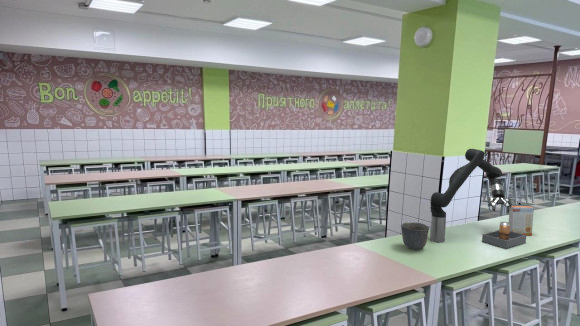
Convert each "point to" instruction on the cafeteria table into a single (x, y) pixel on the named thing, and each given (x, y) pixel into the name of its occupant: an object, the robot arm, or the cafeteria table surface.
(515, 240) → the gray tray
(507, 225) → the tin can
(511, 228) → the cracker box
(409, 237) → the dark grey plant pot
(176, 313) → the cafeteria table surface
